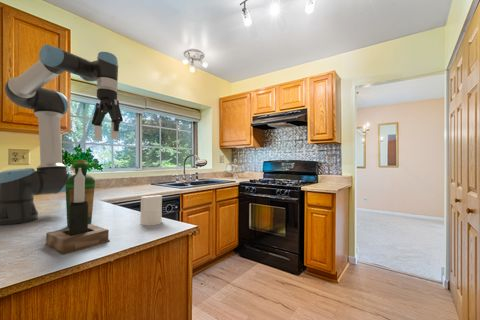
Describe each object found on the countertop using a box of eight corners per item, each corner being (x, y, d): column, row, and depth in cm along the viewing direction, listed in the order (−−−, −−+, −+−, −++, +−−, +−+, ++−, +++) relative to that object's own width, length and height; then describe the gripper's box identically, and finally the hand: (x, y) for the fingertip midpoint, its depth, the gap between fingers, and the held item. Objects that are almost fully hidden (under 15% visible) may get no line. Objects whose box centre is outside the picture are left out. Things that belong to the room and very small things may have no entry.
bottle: (78, 229, 89) (80, 160, 90) (57, 227, 91) (58, 159, 92) (100, 222, 100) (101, 160, 100) (80, 220, 102) (82, 160, 102)
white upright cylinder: (156, 219, 108) (157, 194, 108) (164, 222, 102) (165, 196, 102) (137, 222, 102) (137, 196, 102) (145, 226, 95) (145, 198, 95)
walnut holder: (44, 245, 73) (45, 232, 73) (90, 234, 84) (90, 223, 84) (62, 254, 66) (62, 241, 66) (109, 241, 77) (109, 229, 77)
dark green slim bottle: (68, 240, 76) (70, 167, 76) (86, 237, 79) (88, 167, 79) (68, 245, 72) (70, 167, 72) (87, 242, 75) (89, 167, 75)
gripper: (83, 92, 98) (82, 140, 98) (114, 82, 85) (113, 137, 85) (101, 96, 105) (100, 141, 105) (132, 88, 92) (131, 139, 91)
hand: (106, 140), depth 95 cm, fingers open, 13 cm apart
